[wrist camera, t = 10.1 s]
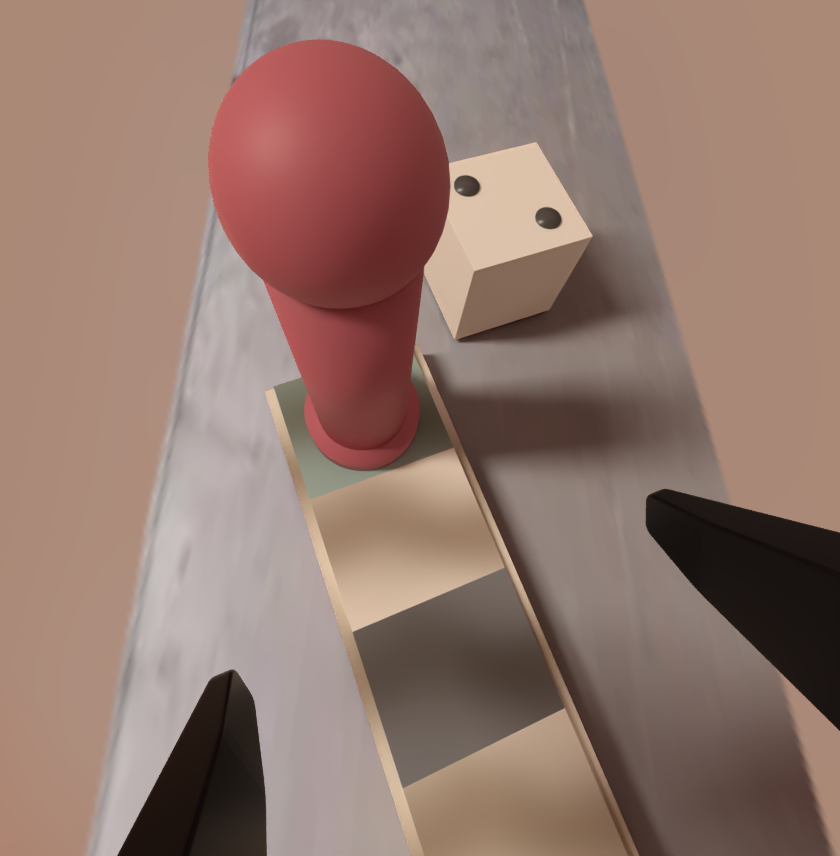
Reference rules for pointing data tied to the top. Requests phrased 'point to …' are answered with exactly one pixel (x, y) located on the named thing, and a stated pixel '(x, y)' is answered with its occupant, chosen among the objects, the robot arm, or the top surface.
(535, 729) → the board
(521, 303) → the die
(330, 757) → the top surface
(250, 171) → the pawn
